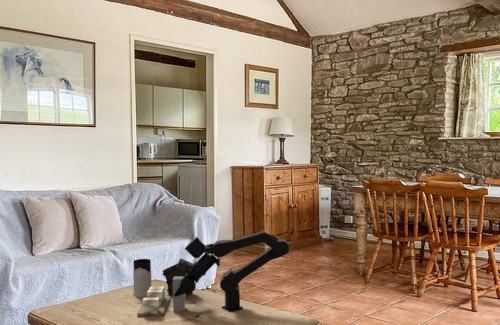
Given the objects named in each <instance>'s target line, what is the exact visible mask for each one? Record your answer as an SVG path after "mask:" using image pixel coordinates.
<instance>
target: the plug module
mask: <svg viewBox="0 0 500 325" xmlns="http://www.w3.org/2000/svg"><path fill="white" fill-rule="evenodd" d="M183 277H184V276H175V277H174V278H173V295H172V305H173V306H172V310H173V312H177V313H178V312H185V311H186V295H185V293H184V294H182V295H179V296H177V297H175V296H174V294H175V293H176V291H177V290H178V288H179V287H180V285H181V282H180V281H181V279H182V278H183Z"/></svg>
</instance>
